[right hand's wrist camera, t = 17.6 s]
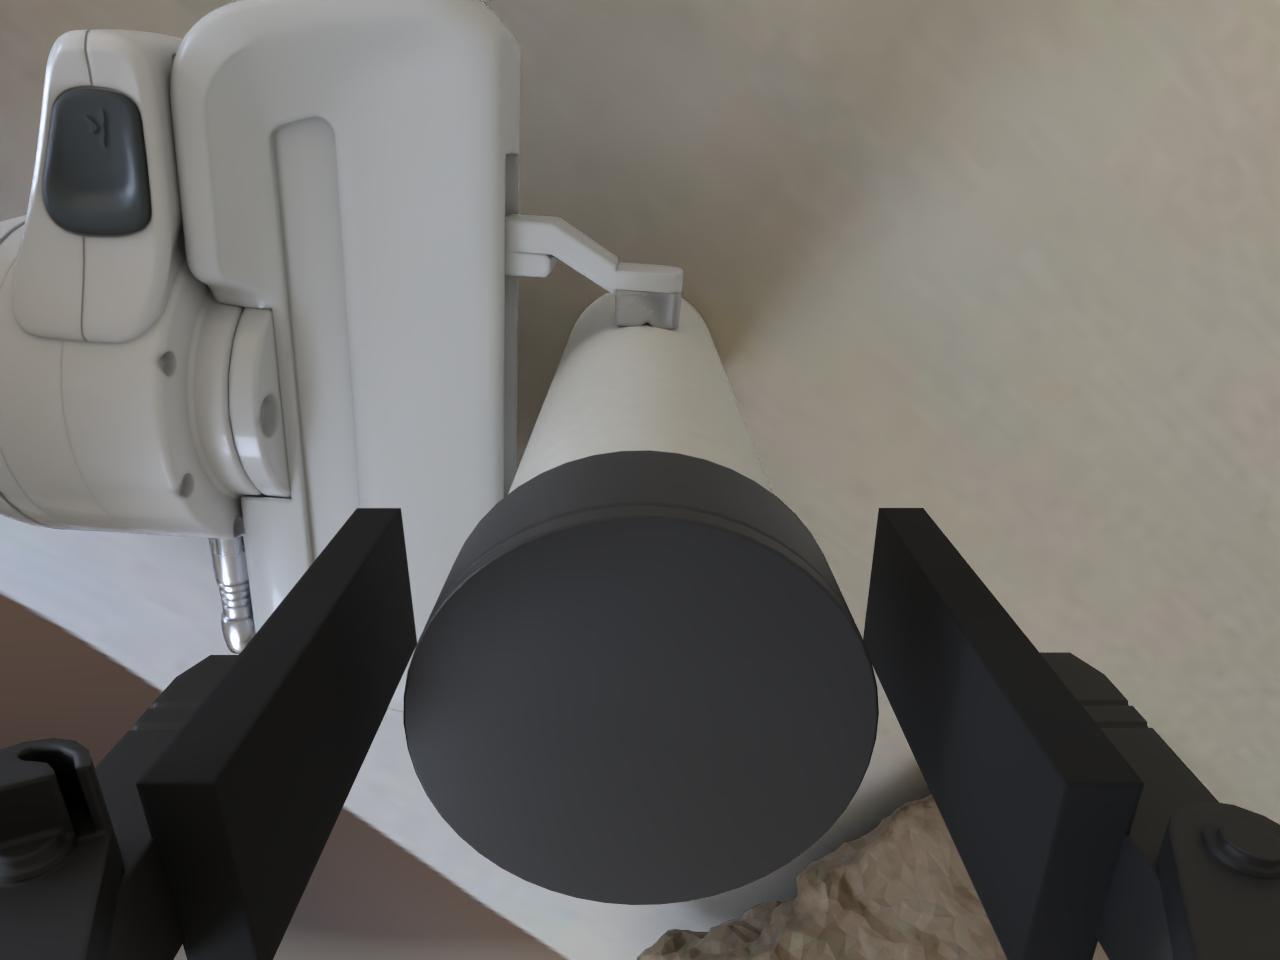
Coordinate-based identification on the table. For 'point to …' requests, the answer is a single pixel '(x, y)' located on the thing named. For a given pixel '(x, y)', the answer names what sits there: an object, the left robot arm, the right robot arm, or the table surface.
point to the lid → (640, 683)
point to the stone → (863, 905)
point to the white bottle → (639, 397)
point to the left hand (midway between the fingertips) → (671, 413)
